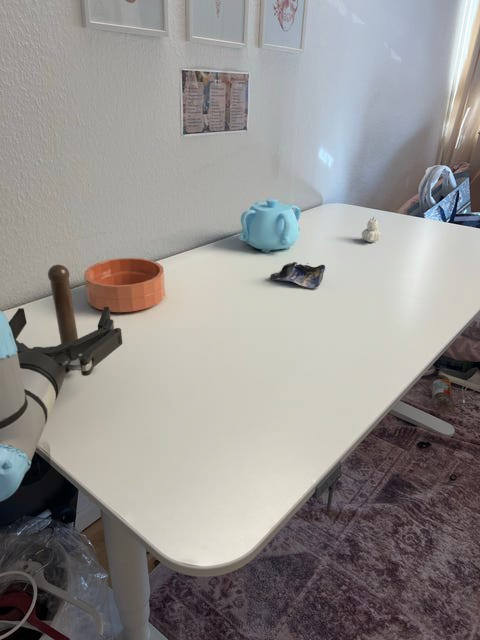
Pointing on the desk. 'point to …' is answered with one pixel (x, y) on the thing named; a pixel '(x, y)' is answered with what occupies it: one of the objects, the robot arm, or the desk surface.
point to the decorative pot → (270, 225)
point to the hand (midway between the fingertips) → (65, 314)
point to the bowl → (125, 284)
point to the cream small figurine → (371, 231)
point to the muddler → (63, 303)
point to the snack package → (301, 274)
